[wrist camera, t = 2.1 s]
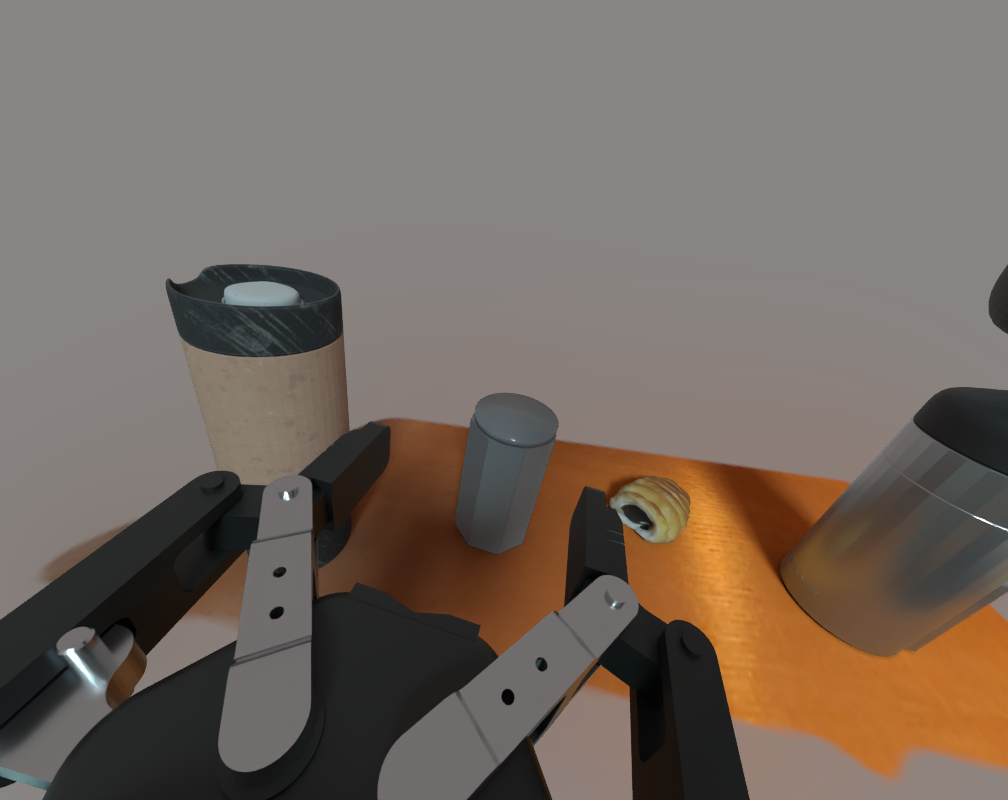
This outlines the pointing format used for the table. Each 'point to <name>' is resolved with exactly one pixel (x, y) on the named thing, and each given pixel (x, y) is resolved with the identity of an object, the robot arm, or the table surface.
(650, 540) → the pastry
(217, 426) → the travel mug
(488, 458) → the canister
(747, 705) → the table surface
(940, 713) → the table surface
